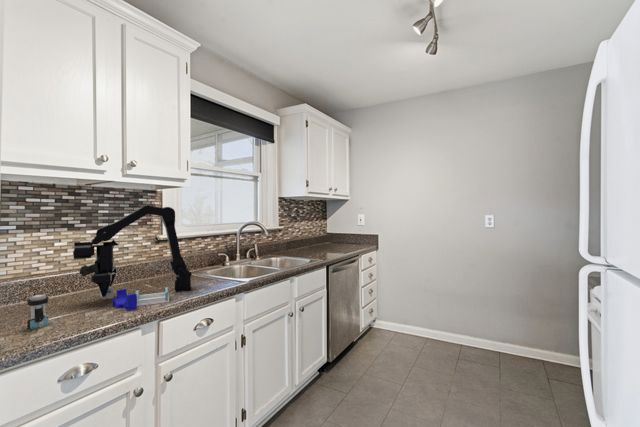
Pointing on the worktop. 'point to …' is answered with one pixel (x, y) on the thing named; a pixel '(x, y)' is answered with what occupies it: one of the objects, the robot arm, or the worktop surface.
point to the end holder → (152, 298)
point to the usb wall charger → (108, 293)
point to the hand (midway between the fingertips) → (105, 294)
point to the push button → (37, 311)
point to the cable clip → (125, 300)
